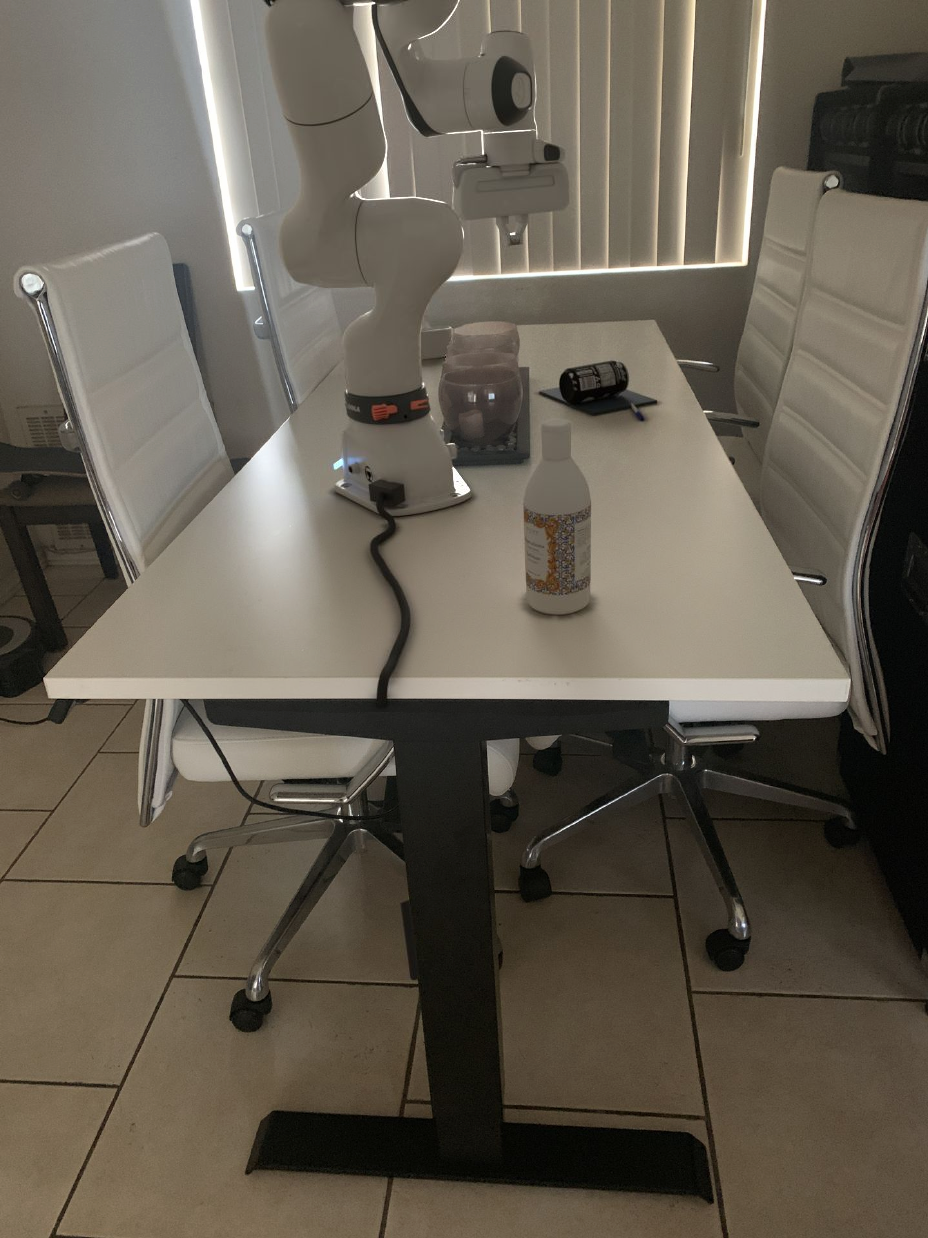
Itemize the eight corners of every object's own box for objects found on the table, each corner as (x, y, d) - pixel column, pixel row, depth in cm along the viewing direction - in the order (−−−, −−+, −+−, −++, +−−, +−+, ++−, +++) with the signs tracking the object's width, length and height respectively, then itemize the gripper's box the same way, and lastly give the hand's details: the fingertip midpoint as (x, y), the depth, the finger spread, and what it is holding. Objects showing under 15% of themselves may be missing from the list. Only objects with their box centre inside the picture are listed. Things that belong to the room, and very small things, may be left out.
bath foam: (513, 600, 98) (506, 422, 88) (562, 581, 101) (560, 408, 92) (554, 623, 93) (550, 436, 83) (603, 603, 96) (606, 421, 86)
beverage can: (556, 397, 168) (608, 387, 173) (574, 410, 164) (628, 399, 168) (558, 363, 164) (612, 354, 169) (577, 375, 160) (632, 365, 164)
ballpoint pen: (645, 420, 155) (645, 415, 155) (640, 421, 155) (640, 415, 155) (632, 405, 164) (632, 400, 164) (627, 406, 164) (627, 400, 164)
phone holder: (456, 355, 212) (451, 275, 203) (415, 360, 210) (408, 280, 201) (439, 342, 227) (433, 267, 218) (400, 347, 225) (393, 271, 216)
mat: (657, 402, 165) (657, 400, 164) (592, 415, 160) (592, 412, 160) (599, 382, 181) (599, 379, 181) (539, 393, 176) (539, 390, 176)
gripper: (459, 156, 136) (464, 253, 143) (574, 147, 143) (574, 240, 150) (443, 157, 141) (449, 250, 148) (554, 148, 148) (555, 238, 155)
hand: (512, 245), depth 149 cm, fingers closed
